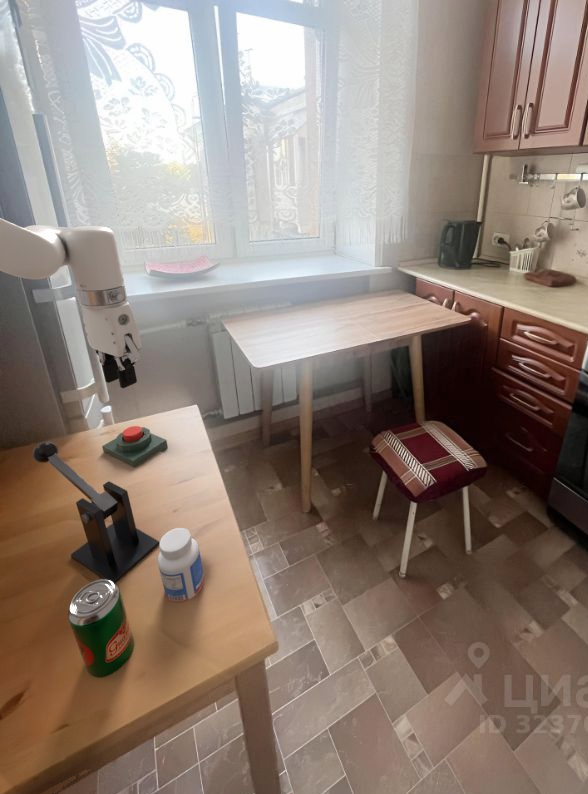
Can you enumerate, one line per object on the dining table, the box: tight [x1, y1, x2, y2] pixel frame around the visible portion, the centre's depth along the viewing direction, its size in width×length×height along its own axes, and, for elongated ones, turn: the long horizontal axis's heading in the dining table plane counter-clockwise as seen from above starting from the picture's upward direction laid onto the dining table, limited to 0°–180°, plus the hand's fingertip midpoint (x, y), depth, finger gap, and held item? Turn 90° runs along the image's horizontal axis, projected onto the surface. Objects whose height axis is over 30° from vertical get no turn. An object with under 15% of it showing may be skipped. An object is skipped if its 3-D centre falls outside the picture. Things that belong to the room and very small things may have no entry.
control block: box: [101, 426, 169, 468], centre depth 85 cm, size 10×8×4 cm
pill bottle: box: [157, 527, 205, 603], centre depth 56 cm, size 6×5×10 cm
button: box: [122, 425, 143, 442], centre depth 84 cm, size 4×4×2 cm
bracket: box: [70, 480, 160, 584], centre depth 61 cm, size 10×8×12 cm
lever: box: [32, 441, 118, 521], centre depth 61 cm, size 17×3×3 cm, turn 64°
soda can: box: [67, 578, 135, 679], centre depth 47 cm, size 5×5×12 cm
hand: (121, 381), depth 80 cm, fingers open, 3 cm apart
